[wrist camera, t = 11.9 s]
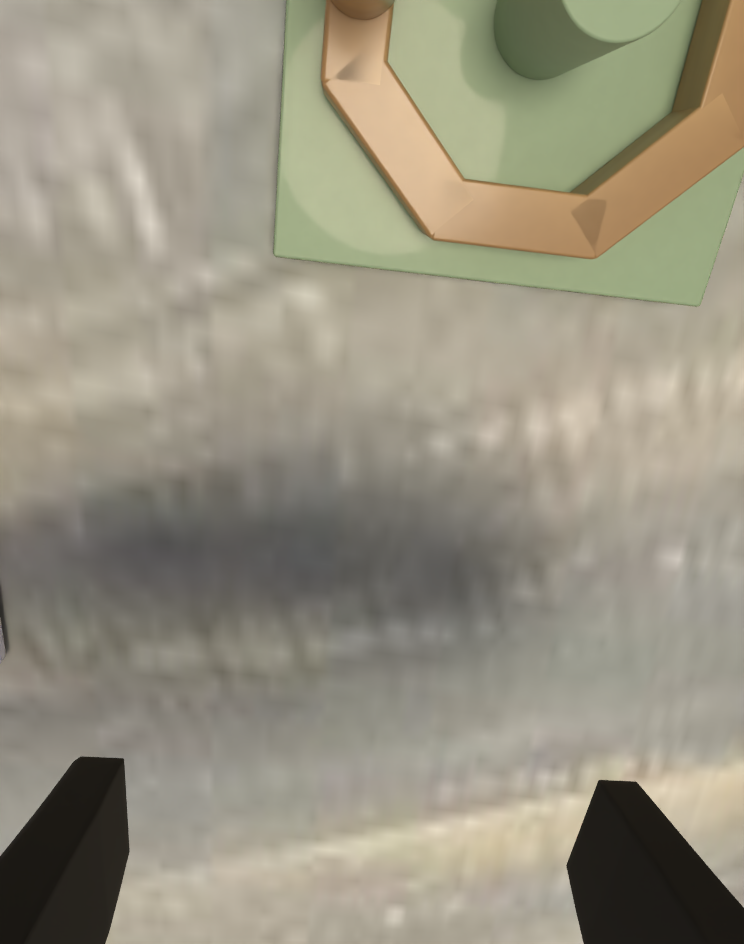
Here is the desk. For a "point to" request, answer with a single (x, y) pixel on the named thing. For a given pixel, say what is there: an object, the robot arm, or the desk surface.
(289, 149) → the peg stand
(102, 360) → the desk surface
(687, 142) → the maple ring
